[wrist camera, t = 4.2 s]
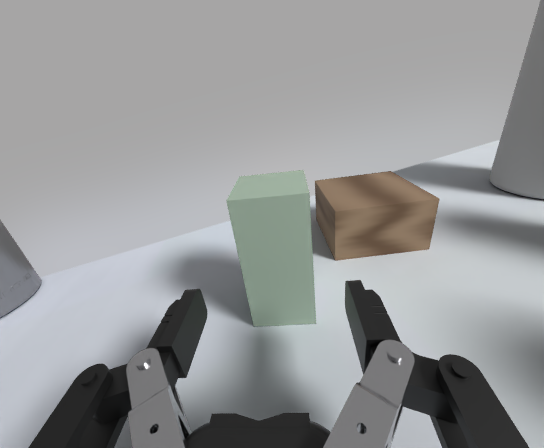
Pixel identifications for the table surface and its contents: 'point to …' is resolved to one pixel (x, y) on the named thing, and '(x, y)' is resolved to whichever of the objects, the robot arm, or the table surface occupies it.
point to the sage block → (275, 246)
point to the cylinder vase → (525, 125)
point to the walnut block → (374, 215)
